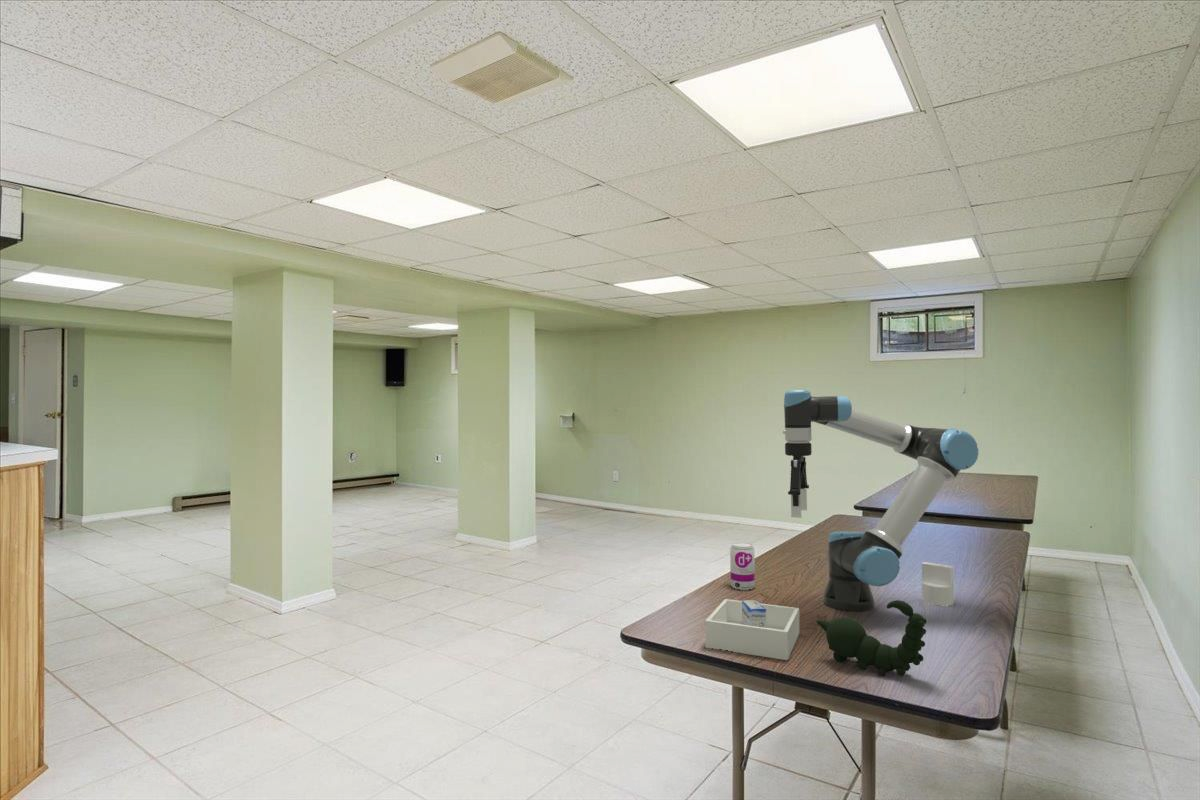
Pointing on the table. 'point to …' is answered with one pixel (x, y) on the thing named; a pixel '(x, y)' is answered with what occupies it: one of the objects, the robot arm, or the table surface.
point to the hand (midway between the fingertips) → (799, 513)
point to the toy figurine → (876, 642)
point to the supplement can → (742, 566)
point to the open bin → (753, 631)
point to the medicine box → (753, 613)
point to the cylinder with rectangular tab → (937, 584)
